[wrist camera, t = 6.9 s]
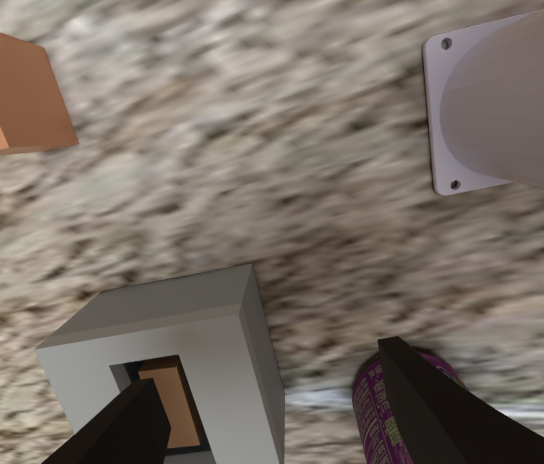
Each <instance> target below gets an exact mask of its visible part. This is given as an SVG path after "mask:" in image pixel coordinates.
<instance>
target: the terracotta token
mask: <svg viewBox="0 0 544 464" xmlns="http://www.w3.org/2000/svg"><path fill="white" fill-rule="evenodd" d="M76 144H79V142H78V139H77V136H76V134H75V131H74V128H73V125H72V123H71V120H70V117H69V115H68V112H67V109H66V106H65V104H64V101H63V98H62V95H61V93H60V90H59V87H58V84H57V82H56V79H55V76H54V74H53V71H52V68H51V65H50V63H49V60H48V57H47V54H46V52H45V49H44V48H43V47H40V46H37V45H35V44H32V43H29V42H26V41H23V40H20V39H17V38H15V37H12V36H9V35H6V34H3V33H0V155H8V154H21V153H34V152H46V151H51V150H55V149H60V148H64V147H68V146H72V145H76Z"/></svg>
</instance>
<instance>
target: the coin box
mask: <svg viewBox="0 0 544 464" xmlns="http://www.w3.org/2000/svg"><path fill="white" fill-rule="evenodd" d="M34 350H35V352H36V354H37V356H38V358H39V361H40V363H41V365H42V367H43V369H44V371H45V373H46V375H47V377H48V379H49V381H50V383H51V385H52V387H53V390H54V392H55V394H56V396H57V398H58V400H59V402H60V404H61V406H62V408H63V410H64V412H65V414H66V416H67V419H68V421H69V423H70V425H71V427H72V429H73V431H74V433H75V434H76V433H77V432H78V431H79V430H80V429H81V428H82V427H83V426H85V425H86V424H87V423H88V422H89V421H90V420H91V419H92V418H93V417H94V416H96V415H97V414H98V413H99V412H100V411H101V410H102V409H103V408H104V407H105V406H106V405H107V404H109V403H110V402H111V401H112V400H113V399H114V398H115V397H116V396H117V395H118V394H120V393H121V392H122V391H123V390H124V389H125V388H126V387H128V386H129V385H130V384H131V383H133V382H134V381H135V380H141V379H140V376H139V373H138V371H139V369H140V368H141V366H142V365H143V363H144V361H145V360H146V359H152V358H158V357H165V356H171V355H177V354H179V357H180V360H181V363H182V366H183V368H184V371H185V374H186V377H187V380H188V383H189V386H190V389H191V392H192V395H193V397H194V400H195V403H196V406H197V409H198V412H199V415H200V418H201V421H202V424H203V427H204V429H205V430H204V433H203V437H202V440H201V444H200V445H196V446H186V447H176V448H167V451H166V455H165V459H164V463H163V464H284V436H285V393H284V389H283V385H282V381H281V377H280V373H279V369H278V365H277V361H276V357H275V353H274V349H273V345H272V341H271V337H270V333H269V329H268V325H267V321H266V317H265V313H264V309H263V305H262V301H261V297H260V293H259V289H258V285H257V281H256V277H255V273H254V269H253V265H252V263H251V264H246V265H241V266H235V267H230V268H225V269H219V270H214V271H208V272H203V273H198V274H192V275H187V276H182V277H176V278H171V279H166V280H160V281H155V282H150V283H144V284H139V285H134V286H128V287H123V288H118V289H112V290H107V291H102V292H101V293H100V294H98V295H97V296H96V297H95V298H94V299H93V300H91V301H90V302H89V303H88V304H87V305H86V306H84V307H83V308H82V309H81V310H80V311H79V312H77V313H76V314H75V315H74V316H73V317H72V318H70V319H69V320H68V321H67V322H66V323H65V324H63V325H62V326H61V327H60V328H59V329H58V330H56V331H55V332H54V333H53V334H52V335H51V336H49V337H48V338H47V339H46V340H45V341H44V342H42V343H41V344H40V345H39V346H38V347H37V348H35V349H34Z"/></svg>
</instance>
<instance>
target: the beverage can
mask: <svg viewBox="0 0 544 464" xmlns="http://www.w3.org/2000/svg"><path fill="white" fill-rule="evenodd" d="M418 353H419V352H418ZM419 354H420V355H421V356H423V357H424V358H425V359H426V360H428V361H429V362H430V363H431V364H433V365H434V366H435V367H436V368H438V369H439V370H440V371H442V372H443V373H444V374H446V375H447V376H448V377H450V378H451V379H452V380H454V381H455V382H456V383H458V384H459V385H460V386H462V387H463V388H465V389H466V390H467V391H469V390H468V389H467V387H466V386H465V385H464V383H463V382H462V380H461V379H460V377H459V376H458V375H457V373H456V372H455V370H454V369H453V368H452V367H451V366H450V365H449V364H447V363H446V362H445V361H443V360H441V359H439V358H437V357H435V356H432V355H429V354H425V353H419ZM352 402H353V408H354V412H355V416H356V420H357V424H358V429H359V433H360V437H361V441H362V445H363V449H364V453H365V457H366V461H367V464H414V463H413V461H412V459H411V457H410V455H409V452H408V450H407V448H406V446H405V444H404V442H403V439H402V437H401V435H400V433H399V431H398V429H397V426H396V423H395V420H394V417H393V414H392V411H391V409H390V406H389V403H388V400H387V397H386V393H385V386H384V380H383V373H382V366H381V359H380V360H378V361H377V362H375V363H374V364H372V365H371V366H370V367H368V368H367V369H366V370H365V371H364V372H363V373H362V375H361V376H360V377H359V379H358V381H357V383H356V385H355V387H354V391H353V397H352Z"/></svg>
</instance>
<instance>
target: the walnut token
mask: <svg viewBox="0 0 544 464" xmlns="http://www.w3.org/2000/svg"><path fill="white" fill-rule="evenodd" d="M138 373H139V376H140V379H147V378H153V379H154V382H155V385H156V387H157V390H158V393H159V396H160V398H161V401H162V404H163V406H164V409H165V412H166V414H167V417H168V420H169V422H170V425H171V432H170V437H169V442H168V447H167V448H176V447H186V446H196V445H200V444H201V440H202V437H203V433H204V430H205V429H204V427H203V424H202V421H201V418H200V415H199V412H198V409H197V406H196V403H195V400H194V397H193V395H192V392H191V389H190V386H189V383H188V380H187V377H186V374H185V371H184V368H183V366H182V363H181V360H180V357H179V354H177V355H171V356H165V357H158V358H152V359H146V360H145V361H144V363H143V365H142V366H141V368H140V369H139V371H138Z"/></svg>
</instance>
